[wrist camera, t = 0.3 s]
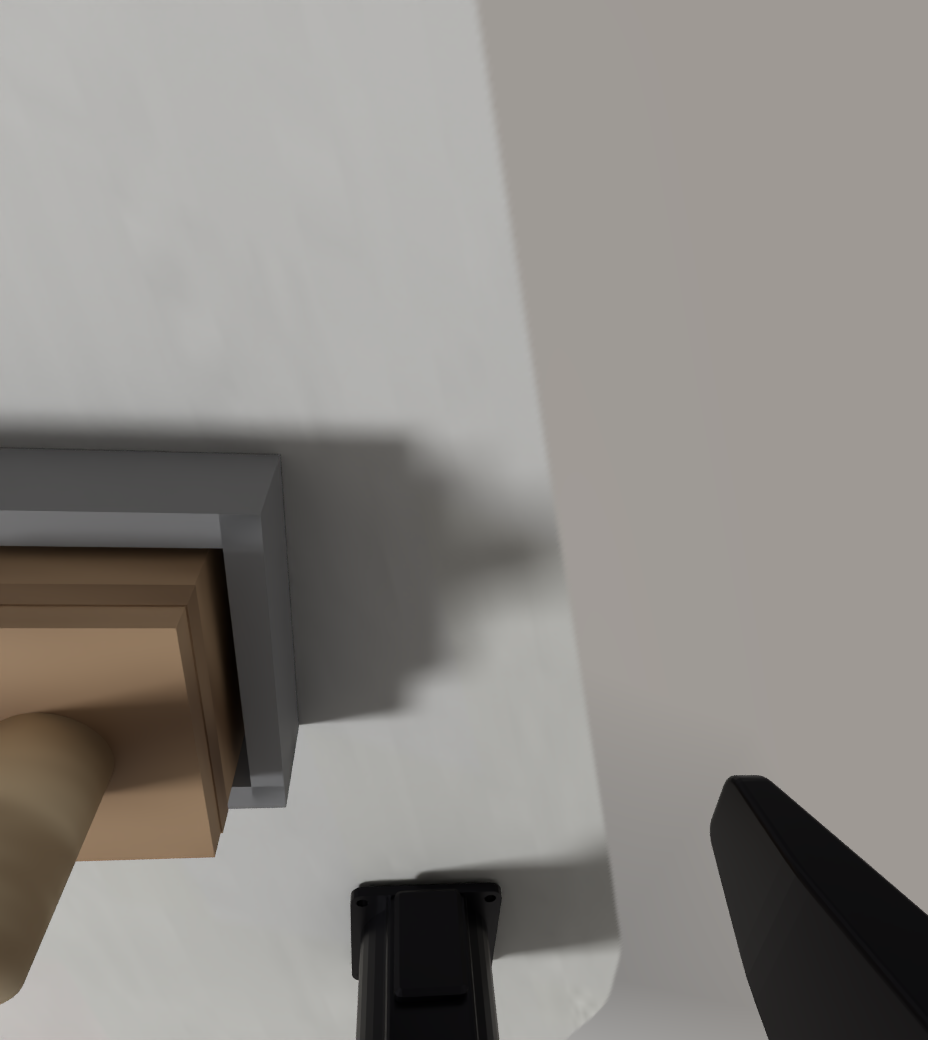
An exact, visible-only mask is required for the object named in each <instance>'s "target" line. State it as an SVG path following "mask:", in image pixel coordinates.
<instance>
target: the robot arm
mask: <svg viewBox="0 0 928 1040" xmlns="http://www.w3.org/2000/svg"><path fill="white" fill-rule="evenodd" d="M710 837H711V843H712V847H713V851H714V855H715V859H716V863H717V867H718V871H719V875H720V878H721V882H722V886H723V890H724V894H725V898H726V902H727V906H728V909H729V913H730V917H731V921H732V924H733V929H734V932H735V936H736V940H737V944H738V948H739V952H740V956H741V959H742V963H743V966H744V969H745V973H746V977H747V980H748V983H749V986H750V989H751V991H752V994H753V997H754V1001H755V1003H756V1006H757V1009H758V1012H759V1014H760V1017H761V1020H762V1022H763V1025H764V1028H765V1031H766V1034H767V1036H768V1039H769V1040H928V915H927V914H926V913H925V912H923V911H922V910H921V909H920V908H919V907H918V906H917V905H915V904H914V903H913V902H912V901H911V900H909V899H908V898H907V897H906V896H905V895H904V894H902V893H901V892H900V891H899V890H898V889H897V888H896V887H894V886H893V885H892V884H891V883H890V882H888V881H887V880H886V879H885V878H884V877H882V876H881V875H880V874H879V873H878V872H877V871H876V870H874V869H873V868H872V867H871V866H870V865H869V864H867V863H866V862H865V861H864V860H863V859H862V858H860V857H859V856H858V855H857V854H856V853H855V852H853V851H852V850H851V849H850V848H849V847H848V846H846V845H845V844H844V843H843V842H842V841H841V840H839V839H838V838H837V837H836V836H835V835H834V834H832V833H831V832H830V831H829V830H828V829H826V828H825V827H824V826H823V825H822V824H821V823H819V822H818V821H817V820H816V819H815V818H814V817H812V816H811V815H810V814H809V813H808V812H807V811H805V810H804V809H803V808H802V807H801V806H800V805H798V804H797V803H796V802H795V801H794V800H793V799H791V798H790V797H789V796H788V795H787V794H786V793H784V792H783V791H782V790H781V789H780V788H778V787H777V786H776V785H775V784H774V783H773V782H771V781H770V780H769V779H767V778H765V777H763V776H759V775H736V776H735V775H734V776H731V777H729V778H728V779H727V780H726V782H725V784H724V786H723V789H722V792H721V794H720V797H719V800H718V803H717V806H716V808H715V811H714V814H713V817H712V819H711V824H710ZM501 899H502V897H501V889H500V886H499V885H498V884H495V883H471V884H442V885H413V886H384V887H361V888H357V889H355V890H353V891H352V893H351V903H350V905H351V948H352V976H353V978H354V979H356V980H359V983H358V1006H357V1028H356V1040H499V1032H498V1023H497V1013H496V1004H495V995H494V986H493V976H492V960H493V953H494V946H495V940H496V933H497V926H498V919H499V913H500V906H501Z"/></svg>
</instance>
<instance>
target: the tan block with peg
mask: <svg viewBox="0 0 928 1040" xmlns="http://www.w3.org/2000/svg"><path fill="white" fill-rule="evenodd" d="M244 734H245V729H244V721H243V713H242V704H241V696H240V688H239V679H238V671H237V663H236V654H235V646H234V638H233V629H232V621H231V613H230V604H229V596H228V588H227V579H226V571H225V563H224V554H223V548H141V547H56V546H0V1004H2V1003H4V1002H6V1001H8V1000H9V999H11V998H13V997H14V996H15V995H16V994H17V993H18V992H19V991H20V989H21V988H22V986H23V984H24V982H25V979H26V977H27V975H28V972H29V970H30V967H31V965H32V963H33V960H34V958H35V956H36V953H37V951H38V949H39V946H40V944H41V942H42V939H43V937H44V934H45V932H46V930H47V927H48V925H49V923H50V920H51V918H52V916H53V913H54V911H55V909H56V906H57V904H58V901H59V899H60V897H61V894H62V892H63V890H64V887H65V885H66V883H67V880H68V878H69V876H70V873H71V871H72V868H73V866H74V864H75V861H102V860H136V859H169V858H203V857H215V854H216V850H217V845H218V841H219V837H220V833H223V830H224V826H225V822H226V817H227V813H228V800H229V796H230V792H231V788H232V784H233V779H234V775H235V771H236V767H237V763H238V759H239V755H240V751H241V746H242V742H243V738H244Z"/></svg>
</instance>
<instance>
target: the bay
mask: <svg viewBox="0 0 928 1040" xmlns="http://www.w3.org/2000/svg"><path fill="white" fill-rule="evenodd" d="M0 546H56V547H141V548H223V554H224V563H225V571H226V579H227V588H228V596H229V604H230V613H231V621H232V629H233V638H234V646H235V654H236V663H237V671H238V679H239V688H240V696H241V704H242V713H243V721H244V729H245V734H244V738H243V742H242V746H241V751H240V755H239V759H238V763H237V767H236V771H235V775H234V779H233V784H232V788H231V792H230V796H229V800H228V809H239V808H282V807H286V804H287V797H288V791H289V785H290V778H291V772H292V766H293V760H294V753H295V747H296V741H297V734H298V728H299V721H298V707H297V692H296V677H295V663H294V648H293V633H292V619H291V604H290V589H289V575H288V560H287V545H286V531H285V516H284V502H283V487H282V472H281V458H280V455H271V454H231V453H190V452H150V451H109V450H69V449H28V448H0Z"/></svg>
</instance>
